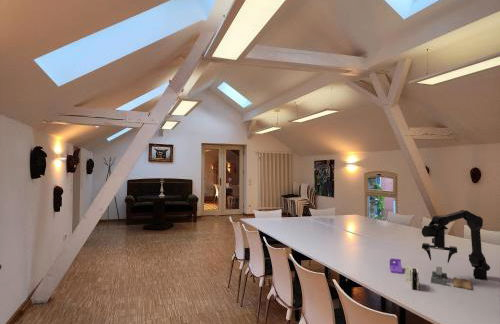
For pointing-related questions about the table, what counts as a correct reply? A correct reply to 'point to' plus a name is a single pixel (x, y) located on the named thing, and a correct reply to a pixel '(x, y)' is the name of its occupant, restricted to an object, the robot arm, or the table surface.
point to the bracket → (395, 266)
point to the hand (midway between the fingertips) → (439, 261)
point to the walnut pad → (462, 283)
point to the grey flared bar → (439, 272)
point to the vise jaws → (439, 280)
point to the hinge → (412, 276)
